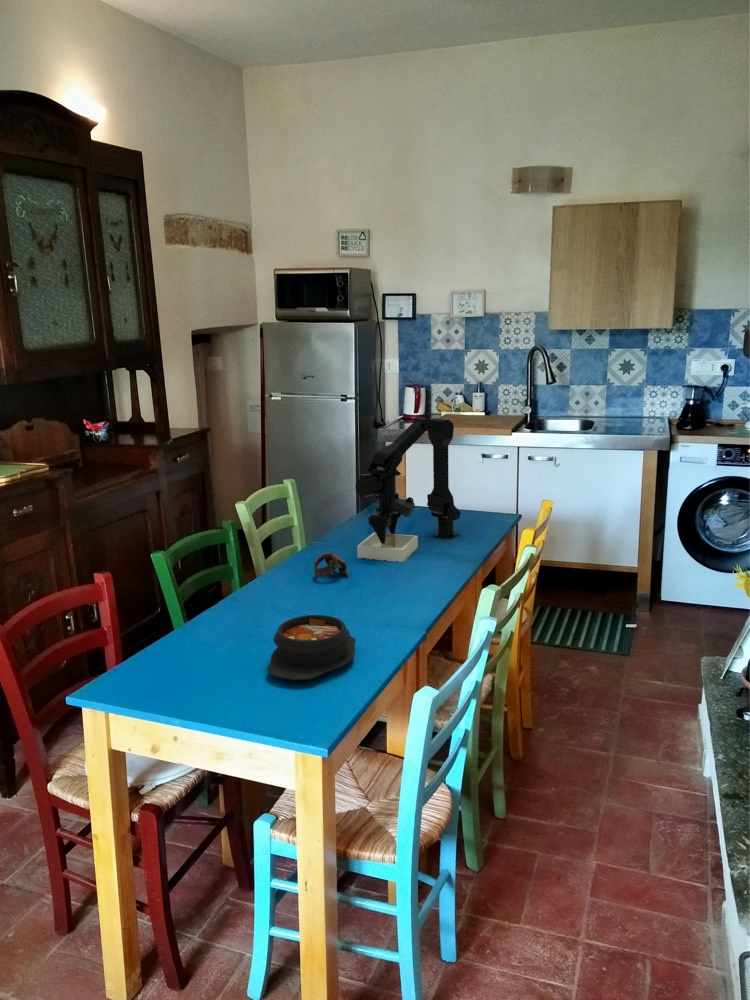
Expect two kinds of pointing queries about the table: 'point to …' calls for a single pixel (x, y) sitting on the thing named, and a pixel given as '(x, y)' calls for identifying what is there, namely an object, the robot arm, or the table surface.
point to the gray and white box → (400, 553)
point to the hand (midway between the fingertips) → (388, 539)
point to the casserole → (310, 647)
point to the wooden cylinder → (389, 541)
